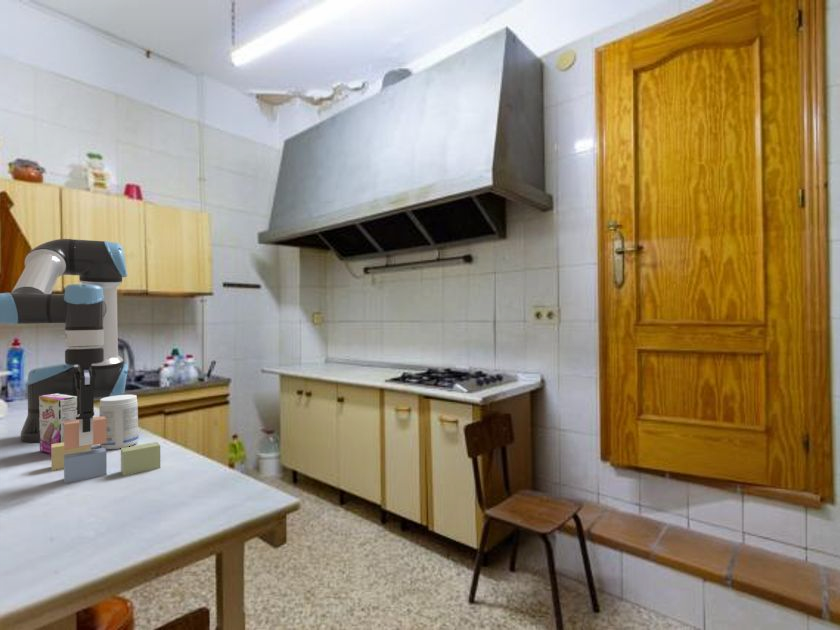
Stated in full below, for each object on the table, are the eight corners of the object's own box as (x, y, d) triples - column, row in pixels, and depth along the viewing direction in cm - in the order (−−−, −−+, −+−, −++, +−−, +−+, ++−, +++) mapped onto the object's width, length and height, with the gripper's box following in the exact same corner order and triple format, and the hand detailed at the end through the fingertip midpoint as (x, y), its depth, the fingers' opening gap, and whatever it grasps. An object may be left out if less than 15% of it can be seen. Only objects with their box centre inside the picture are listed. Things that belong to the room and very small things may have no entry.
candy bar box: (38, 452, 125) (37, 395, 125) (58, 447, 130) (58, 392, 130) (59, 457, 121) (59, 398, 120) (79, 452, 125) (79, 395, 125)
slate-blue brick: (64, 483, 102) (64, 458, 102) (64, 479, 105) (63, 454, 105) (106, 475, 107) (106, 451, 107) (104, 471, 110) (104, 447, 110)
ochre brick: (52, 471, 110) (51, 447, 110) (51, 467, 113) (51, 444, 113) (91, 463, 116) (91, 441, 116) (89, 460, 119) (89, 438, 119)
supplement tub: (136, 439, 138) (136, 393, 138) (140, 446, 131) (140, 397, 131) (98, 445, 132) (98, 396, 132) (100, 452, 125) (100, 401, 125)
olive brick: (123, 476, 107) (123, 451, 107) (120, 471, 110) (120, 448, 110) (160, 468, 112) (160, 445, 112) (157, 464, 115) (156, 441, 115)
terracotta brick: (64, 450, 102) (64, 424, 102) (63, 446, 105) (63, 421, 105) (106, 442, 107) (106, 418, 107) (104, 439, 110) (104, 416, 110)
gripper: (63, 346, 110) (63, 438, 110) (67, 350, 97) (67, 454, 97) (99, 345, 115) (100, 433, 115) (107, 348, 102) (108, 447, 102)
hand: (85, 442), depth 106 cm, fingers closed on terracotta brick, 4 cm apart
